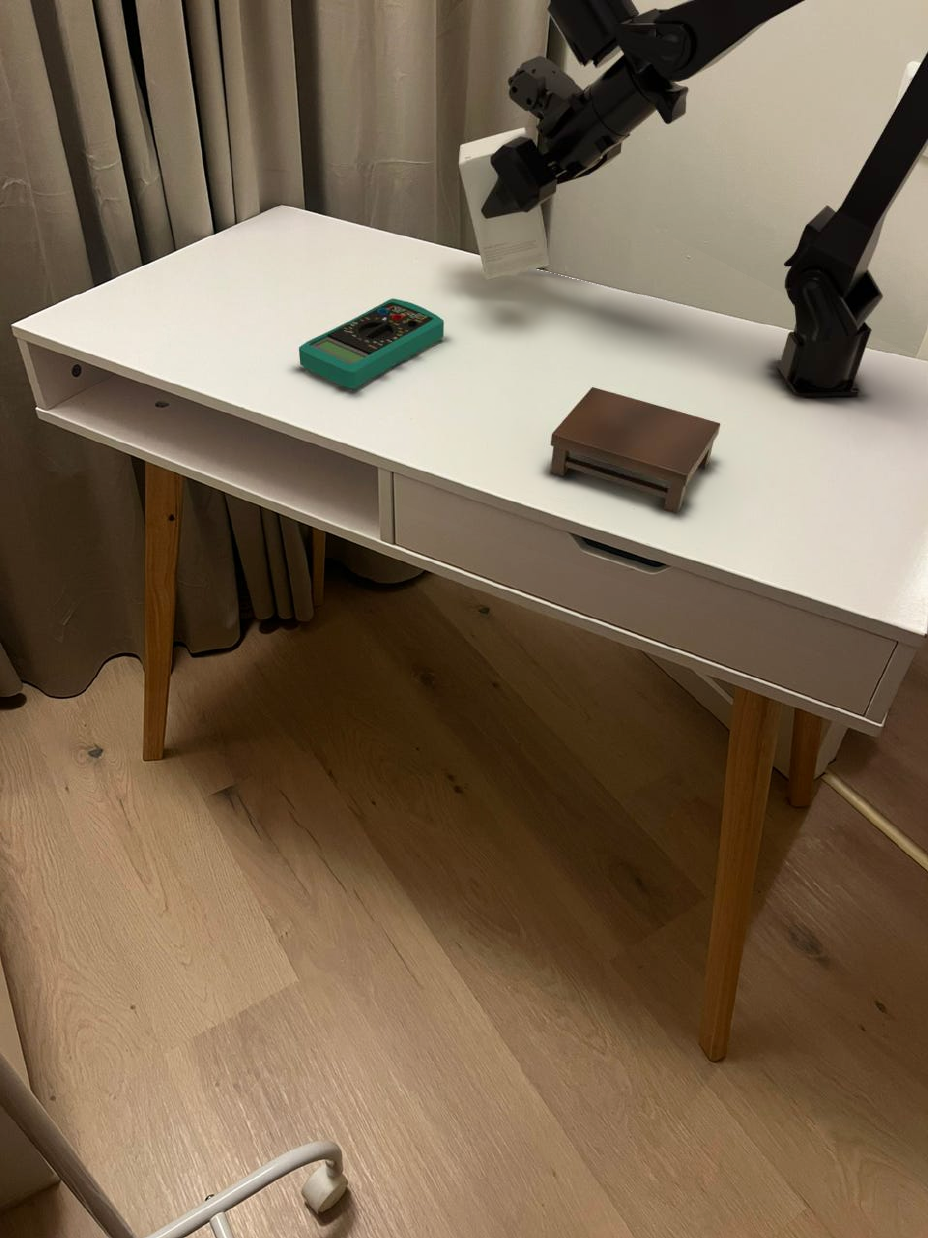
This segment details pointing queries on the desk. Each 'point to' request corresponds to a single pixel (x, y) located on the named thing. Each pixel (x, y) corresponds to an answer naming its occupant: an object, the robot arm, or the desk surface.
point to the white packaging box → (506, 237)
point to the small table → (634, 443)
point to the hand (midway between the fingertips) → (506, 200)
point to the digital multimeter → (371, 343)
